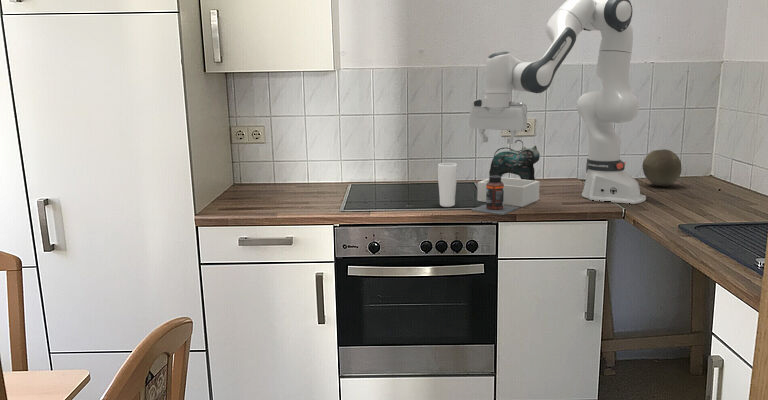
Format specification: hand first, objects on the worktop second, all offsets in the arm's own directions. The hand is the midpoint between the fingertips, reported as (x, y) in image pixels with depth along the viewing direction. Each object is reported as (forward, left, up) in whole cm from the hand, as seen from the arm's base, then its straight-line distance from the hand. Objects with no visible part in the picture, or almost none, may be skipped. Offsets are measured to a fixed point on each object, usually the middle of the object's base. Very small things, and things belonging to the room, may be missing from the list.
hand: (497, 143), depth 210 cm
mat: (0, +1, -23) cm, 23 cm away
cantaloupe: (-36, -72, -23) cm, 84 cm away
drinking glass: (+17, +5, -23) cm, 29 cm away
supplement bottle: (0, +1, -23) cm, 23 cm away
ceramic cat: (+11, -35, -23) cm, 44 cm away
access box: (+3, -15, -23) cm, 28 cm away
